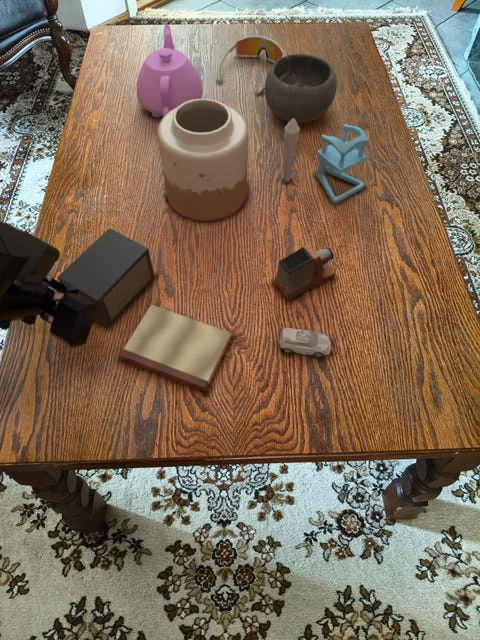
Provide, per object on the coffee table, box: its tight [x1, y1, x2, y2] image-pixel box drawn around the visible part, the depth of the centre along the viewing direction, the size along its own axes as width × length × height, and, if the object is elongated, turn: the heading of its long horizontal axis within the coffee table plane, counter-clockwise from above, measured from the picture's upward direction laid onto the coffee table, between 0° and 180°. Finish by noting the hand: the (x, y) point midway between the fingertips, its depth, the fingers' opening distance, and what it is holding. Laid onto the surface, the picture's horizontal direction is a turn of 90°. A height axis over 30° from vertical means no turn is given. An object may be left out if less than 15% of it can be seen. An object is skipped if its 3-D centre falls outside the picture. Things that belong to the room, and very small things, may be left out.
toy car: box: [279, 327, 332, 358], centre depth 77 cm, size 4×8×3 cm, turn 82°
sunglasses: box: [218, 34, 286, 95], centre depth 118 cm, size 14×15×5 cm
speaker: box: [56, 228, 155, 328], centre depth 81 cm, size 12×8×8 cm
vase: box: [157, 98, 249, 222], centre depth 90 cm, size 15×15×17 cm
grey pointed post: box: [283, 118, 301, 183], centre depth 93 cm, size 2×3×14 cm
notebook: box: [118, 304, 233, 393], centre depth 77 cm, size 14×10×2 cm
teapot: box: [136, 24, 204, 118], centre depth 107 cm, size 20×14×12 cm
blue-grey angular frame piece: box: [315, 123, 370, 204], centre depth 93 cm, size 8×8×12 cm
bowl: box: [264, 53, 338, 124], centre depth 106 cm, size 15×15×10 cm
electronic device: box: [274, 243, 336, 301], centre depth 82 cm, size 4×10×8 cm, turn 121°
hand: (76, 291), depth 75 cm, fingers closed, pressing on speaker
